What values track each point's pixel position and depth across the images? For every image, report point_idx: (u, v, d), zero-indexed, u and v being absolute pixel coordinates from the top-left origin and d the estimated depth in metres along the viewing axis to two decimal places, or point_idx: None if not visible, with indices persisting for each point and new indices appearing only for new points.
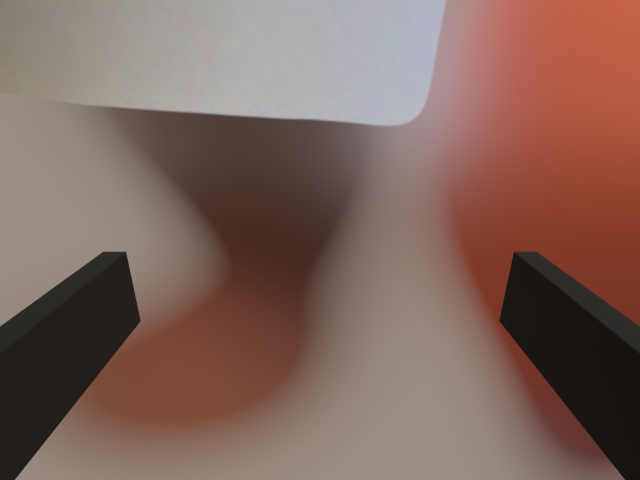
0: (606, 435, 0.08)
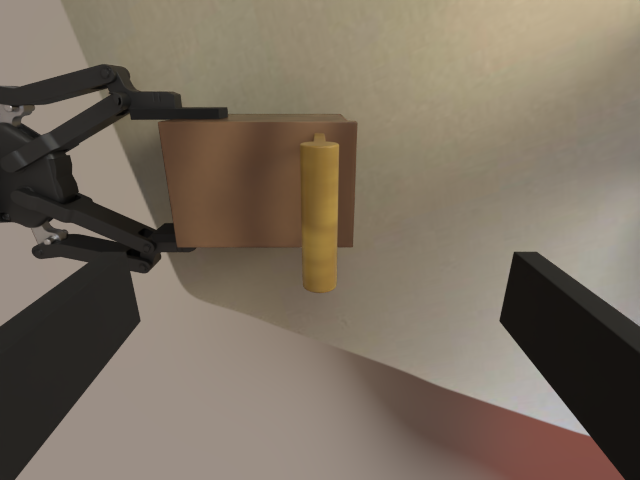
0: (607, 435, 0.08)
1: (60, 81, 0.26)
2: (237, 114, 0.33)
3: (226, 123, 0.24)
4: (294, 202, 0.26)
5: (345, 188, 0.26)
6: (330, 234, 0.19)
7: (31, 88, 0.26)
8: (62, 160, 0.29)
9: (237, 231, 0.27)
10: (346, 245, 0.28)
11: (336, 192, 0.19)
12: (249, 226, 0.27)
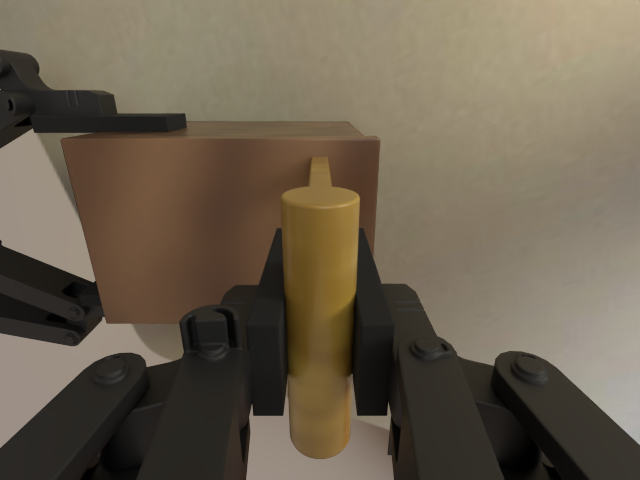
0: (353, 364, 0.10)
1: None
2: (206, 122, 0.24)
3: (170, 141, 0.15)
4: None
5: None
6: (341, 364, 0.10)
7: None
8: None
9: (195, 301, 0.18)
10: None
11: (353, 288, 0.09)
12: (213, 294, 0.18)
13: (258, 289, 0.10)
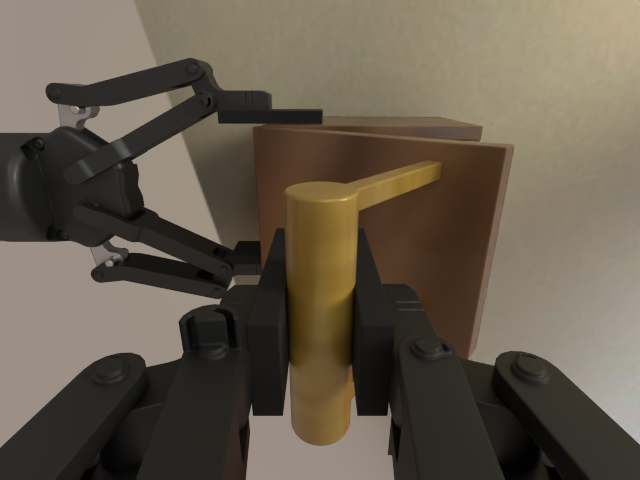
0: (353, 364, 0.10)
1: (138, 78, 0.22)
2: (322, 117, 0.29)
3: (314, 134, 0.18)
4: (385, 260, 0.17)
5: (467, 261, 0.15)
6: (318, 357, 0.10)
7: (103, 86, 0.22)
8: (130, 170, 0.25)
9: None
10: None
11: (336, 287, 0.09)
12: None
13: (258, 289, 0.10)
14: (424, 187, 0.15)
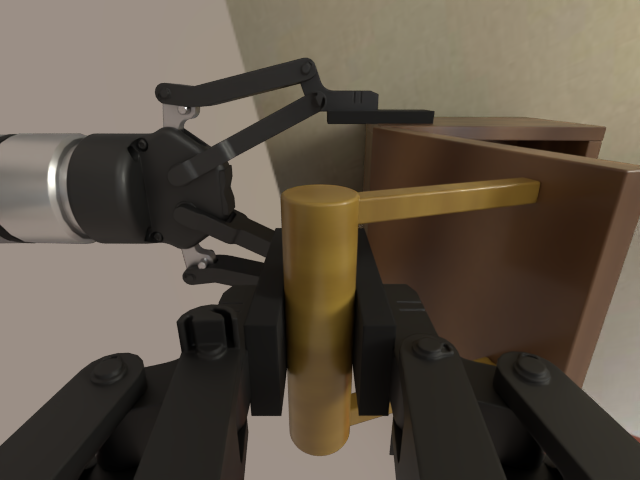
0: (354, 365, 0.10)
1: (250, 78, 0.22)
2: None
3: (419, 137, 0.16)
4: (468, 289, 0.15)
5: (557, 316, 0.11)
6: (299, 362, 0.10)
7: (214, 86, 0.22)
8: (228, 171, 0.25)
9: None
10: None
11: (315, 296, 0.09)
12: (416, 290, 0.18)
13: (256, 289, 0.10)
14: (517, 211, 0.12)
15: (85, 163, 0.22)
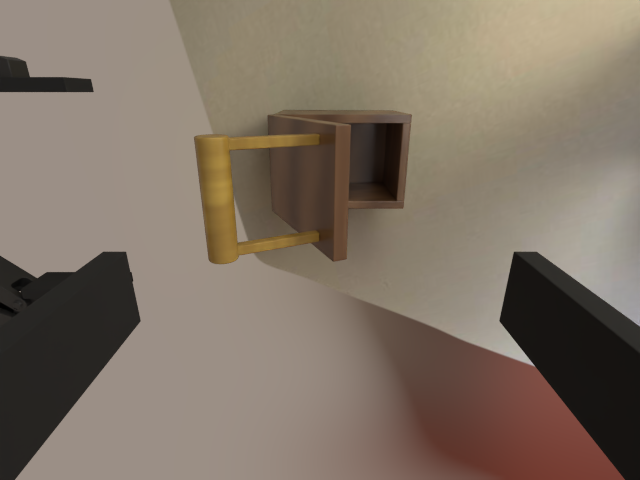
0: (606, 435, 0.08)
1: None
2: (311, 110, 0.42)
3: (284, 118, 0.29)
4: (307, 197, 0.28)
5: (329, 195, 0.24)
6: (207, 213, 0.22)
7: None
8: None
9: (288, 210, 0.32)
10: (330, 257, 0.26)
11: (210, 179, 0.22)
12: (292, 209, 0.31)
13: None
14: (315, 150, 0.25)
15: None
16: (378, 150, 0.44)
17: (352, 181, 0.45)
